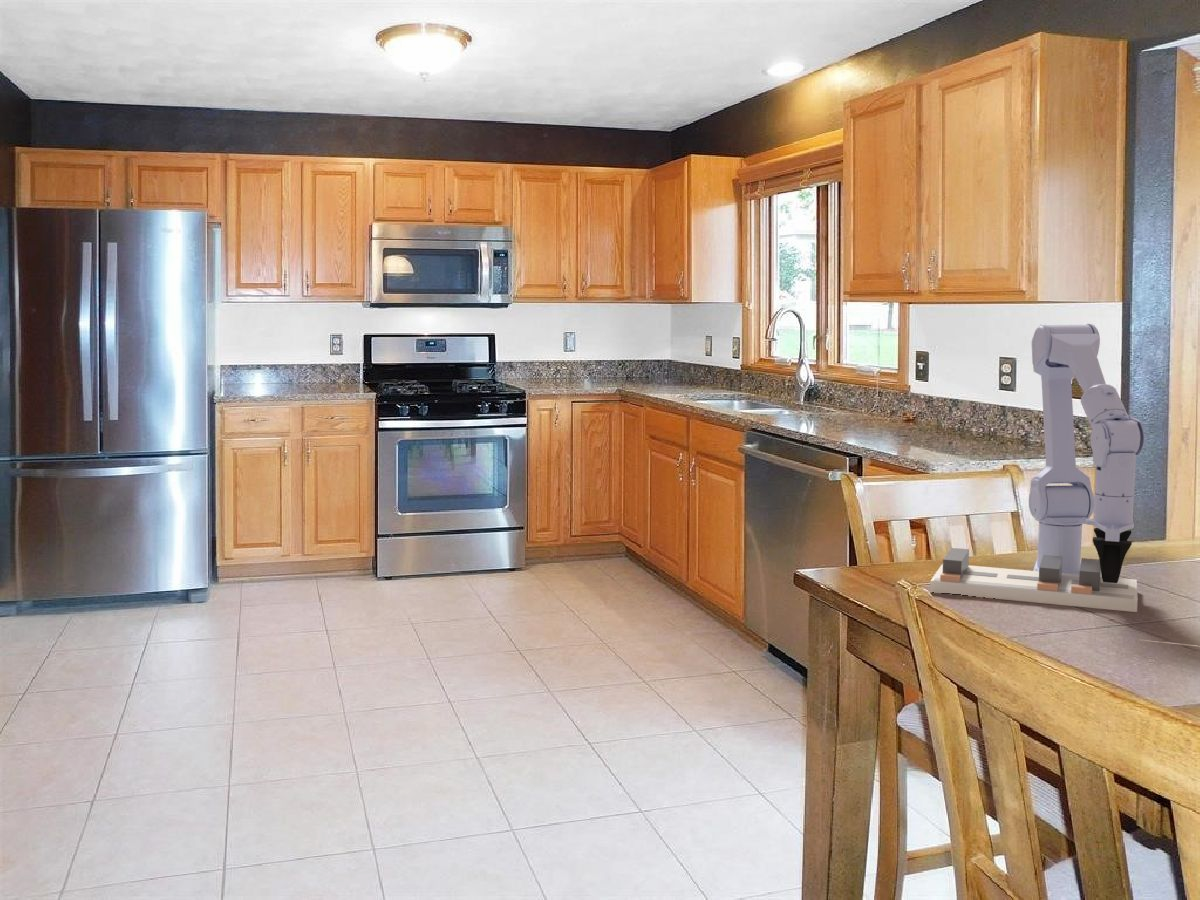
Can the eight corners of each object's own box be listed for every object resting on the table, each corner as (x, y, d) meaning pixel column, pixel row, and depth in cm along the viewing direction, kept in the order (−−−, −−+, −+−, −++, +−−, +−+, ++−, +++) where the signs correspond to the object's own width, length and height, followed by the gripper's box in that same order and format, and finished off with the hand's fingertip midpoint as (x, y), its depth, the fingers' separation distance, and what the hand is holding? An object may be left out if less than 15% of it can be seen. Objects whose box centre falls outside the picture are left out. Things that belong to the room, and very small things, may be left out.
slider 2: (1080, 575, 186) (1081, 558, 186) (1100, 577, 185) (1101, 559, 185) (1078, 589, 177) (1079, 570, 177) (1099, 591, 176) (1100, 572, 176)
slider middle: (1042, 572, 189) (1043, 555, 188) (1061, 573, 188) (1062, 556, 187) (1038, 585, 180) (1039, 567, 180) (1058, 587, 179) (1059, 569, 178)
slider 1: (950, 564, 195) (951, 547, 195) (968, 566, 194) (969, 549, 194) (942, 576, 186) (942, 559, 186) (961, 578, 185) (961, 561, 185)
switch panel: (942, 574, 197) (942, 557, 197) (1136, 591, 184) (1137, 573, 184) (930, 592, 184) (930, 574, 184) (1137, 612, 171) (1138, 593, 171)
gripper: (1088, 486, 186) (1084, 565, 188) (1085, 499, 173) (1082, 584, 175) (1134, 488, 183) (1130, 569, 185) (1136, 502, 170) (1131, 589, 172)
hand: (1110, 577), depth 180 cm, fingers open, 7 cm apart
